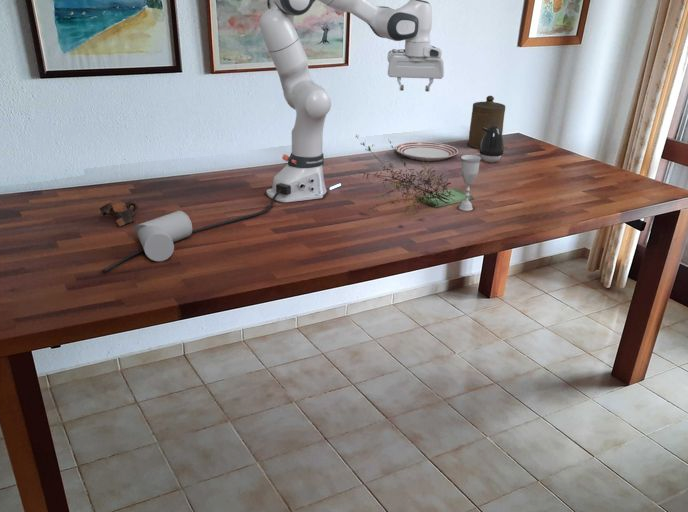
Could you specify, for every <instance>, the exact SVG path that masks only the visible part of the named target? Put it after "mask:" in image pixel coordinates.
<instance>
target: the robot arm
mask: <svg viewBox="0 0 688 512" xmlns="http://www.w3.org/2000/svg"><path fill="white" fill-rule="evenodd" d="M315 2H316V0H267V2H266V6H267V8H268V9H267V10H265V11H264V12H263V13H262V14H261V16H260V18H259V26H260V28H259V29H260V32H261V34H262V38H263V41H264V44H265V47H266V49H267V51H268V54H269V56H270V58H271V61H272V62H273V65H274V67H275V69H276V72H277V75H278V77H279V80H280V85H281V88H282V93H283V97H284V100H285V102H286V103H287V105H288V106H289V107H290V108H291V109H293V110H295V114H296V115H295V121H294V124H293V125H294V126H293V128H292V129H291V152H290V155H287V154H283V155H282V156H281V157H282V158H281V159H282V160H283V161H285V162H287V164H286V165H285V166H284V167H283V168H282V169H281V170H280V171H278V172H277V174H275V175H274V176H273V179H272V184H271V185H272V186H271V188H268V189H266V195H267V196H268V198H270V199H271V200H270V204H269V205H268V207H266V208H265V209H263V210H261V211H257V212H255V213H250V214H247V215H243V216H240V217H236V218H233V219H229V220H225V221H221V222H217V223H212V224H209V225H206V226H202V227H199V228H195V229H192V234H195V233H199V232H202V231H206V230H208V229H213V228H217V227H219V226H224V225H227V224H232V223H235V222H239V221H242V220H246V219H249V218H253V217H257V216H259V215H262V214H264V213H267V212H268V211H269V210H270V209H271V208H272V206H273V205H274V202H275V201H276V202H280V203H294V202H301V201H302V202H303V201H310V200H319V199H323V198H324V195H326V193H327V192H328V190H327V187H326V183H325V175H324V163H325V162H324V161H325V159H324V152H323V139H324V138H323V136H324V135H323V134H324V128H325V127H324V126H325V122H326V118H327V115H328V114H329V112H330V111H331V107H332V99H331V96H330V94H329V93H328V91H327V90H326V89H325V88H324V87H322V85H319V84H317V83H316V82H314V80H313V79H312V77H311V74H310V69H309V58H308V56H307V53H306V52H305V49H304V46H303V44H302V41H301V39H300V37H299V35H298V32H297V30H296V28H295V23H294V18H295V16H301V15H304V14H306V13H307V12H308V11H309V10H311V7H312V5H313V4H314V3H315ZM318 2H321V3H322V4H324V5H326V6H328V7H329V8H331V9H333V10H336V11H338V12H342V13H350V14H351V15H353V16H355V17H356V18H358V19H359V20H361V21H362V22H364V23H366V24H367V25H368V26H369V27H370V29H371V31H372V32H373V34H375V35H376V36H377V37H379V38H383V39H387V40H390V41H394V42H401V41H404V49H402V48H401V49H395V48H392V49H391V50H389V51H388V53H387V57H386V58H387V62H388V67H387V76H388V77H389V78H396V81H397V84H398V85H399V91H404V90H405V89H404V88H405V85H404V84H402V83H401V81H402V79H405V78H407V79H428V81H429V83H428V85H425V86H424V87H425V88H424V91H425V92H430V88H431V86H432V85H433V83H434V80H435V79H436V80H441V79H443V78H444V75H445V68H444V67H445V65H444V60H443V58H442V55H443V51H442V50H441V48H440V47H436V46H434V45H431V38H430V37H431V36H430V33H431V31H432V24H433V23H432V22H433V11H432V5H431V4H430V2H429V1H426V0H408V1H407V3H405V4H404V5H402V6H401V7H400V6H399V7H398V8H396V9H395V8H391V7H389V6H382V5H381V6H380V5H379V6H378V5H375V3H372V2H371V1H369V0H318ZM341 186H342V184H341V183H338V184H335V185H333V186H330V187H329V190H333V189H336V188H338V187H341ZM143 253H145V251H144V249H143V248H141V249H139V250H136V251H135V252H133V253H131V254H129V255H126V256H125V257H123V258H122V259H120V260H117V261H116V262H113V263H112V264H110V265H108V266H107V267H105V268H103V269H102V272H103V273H106V272H108V271H110V270H111V269H114V268H115V267H117V266H119V265H120V264H123V263H124V262H126V261H128V260H130V259H132V258H133V257H136V256H137V255H140V254H143Z"/></svg>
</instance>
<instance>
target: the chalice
mask: <svg viewBox="0 0 688 512" xmlns="http://www.w3.org/2000/svg"><path fill="white" fill-rule="evenodd" d="M460 157H461V160H462V161H461V170H460V171H461V177H462V179H463V182H464V184H465V185H466V188H465V193H466V194H465V196H466V199H465V200H464V201H462V202H460V204H459V206H458V209H459V210H461V211H467V212H469V211H472V210H474V208H473V205H472V202H471V201H470V200H468V197H469V194H470V191H471V188H470V186H471V185H473V183H474V182H475V180H476V179H477V177H478V174H479V172H480V171H479V170H480V163H481V161H482V159H481V157H480V155H477V154H476V155H475V154H464V155H461V156H460Z"/></svg>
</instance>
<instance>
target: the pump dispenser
mask: <svg viewBox="0 0 688 512" xmlns="http://www.w3.org/2000/svg"><path fill="white" fill-rule="evenodd" d="M482 130H484V131H486V132H485V134H484V136H483V139H482V142H481V145H480V149H478V153H479V156H480V157H481V161H483V162H484V163H489V164H495V163H497V162H499V161H500V160H501V159H502V157H503V155H504V137H503V132H502V133H501V130H500V128H499V127H498V126H496V125H492V126H490V127H489V128H488V129H487V128H484V127H482Z"/></svg>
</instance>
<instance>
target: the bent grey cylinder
mask: <svg viewBox="0 0 688 512" xmlns="http://www.w3.org/2000/svg"><path fill="white" fill-rule="evenodd" d="M192 230H193V224H192V221H191V219H190V217H189V215H188V214H187V213H186V212H184V211H182V210H176V211H174V212H171V213H168V214H165V215H161V216H159V217H156V218H153V219H151V220H150V219H149V220H147V221H145V222H142V223H139V224H136V225H134V226H133V231H134V233H136V234H137V235H136V236H137V238H138V240H139V242H140V244H141V247H142V249H144V253H145V256H146V257H147V258H148V259H149V260H151V261H154V262H164V261H167V260H168V259H169V258H170V257H171V256H172V255H173V253H174V251H175V244H174V243H175V242H178V241H181V240H184V239H186V238H188V237H191V235H192V234H193V233H192Z"/></svg>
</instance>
